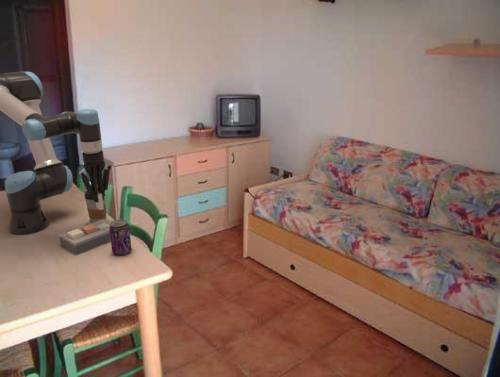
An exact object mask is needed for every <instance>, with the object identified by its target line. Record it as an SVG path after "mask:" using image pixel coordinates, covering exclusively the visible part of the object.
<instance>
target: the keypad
mask: <svg viewBox="0 0 500 377" xmlns="http://www.w3.org/2000/svg"><path fill="white" fill-rule="evenodd" d="M103 223H107V224H109V225H110V223H111V221H110V222H109V221H108V220H107V219H106V220H100V221H97V222H94V223H91V222H90V223H89V224H87V225H90V224H93V225H94V226H97V225H100V224H103ZM87 225H83V226H80V227H78V228H75V229H79V230H81V227H84V226H87ZM75 229H72V230H75ZM97 229H98V228H97ZM72 230H69V231H65V232H63V233H61V234H58V237H59V242H60V246H61V247H63V248H64V249H66V250H67V251H69V252H71V253H72V254H74V255H75V256H77V255H80V254H82V253H85V252H88V251H90V250H93V249H95V248H97V247H101V246H102V245H105V244H108V243H111V239H110V232H109V227H108V228H105V229H102V230H100V229H98V231H97V232H94V233H91V234H88V235H86V234H84V236H83V237H80V238H78V239H75V240H72V239H70V238H68V236H67V232H70V231H72ZM81 231H82V230H81Z"/></svg>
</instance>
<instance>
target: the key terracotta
mask: <svg viewBox="0 0 500 377" xmlns="http://www.w3.org/2000/svg"><path fill="white" fill-rule="evenodd" d="M89 224H90V225H89ZM89 224H87V226H86V225H83V226H84V227H83V226H80V227H81V230H82V231H83V232H84V234H86V235H88V234H91V233H94V232H97V231H98V229H97V227H96V226H94V225H93V224H91V223H89Z"/></svg>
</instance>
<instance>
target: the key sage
mask: <svg viewBox="0 0 500 377" xmlns="http://www.w3.org/2000/svg"><path fill="white" fill-rule="evenodd" d="M96 227H97V228H98V229H100V230H102V229H105V228H108V227H110V225H109V224H107V223H103V224H100V225H97V226H96Z"/></svg>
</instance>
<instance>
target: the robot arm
mask: <svg viewBox="0 0 500 377" xmlns="http://www.w3.org/2000/svg"><path fill="white" fill-rule="evenodd" d="M43 96H44V87H43V84H42V82H41V80H40V78H39V76H37V74H35V73H33V72H32V71H14V72H4V73H3V72H2V73H0V111H1V112H2V113H4V115H6V116H7V117H9V118H10V119H12V121H14V122H15V123H17V125H20V126H21V129H22V134H23V136H25V138H26V140H27V141H28V145H29V147H30V151H31V154H32V157H33V159H34V162H35V166H34V168H33V171H32V170H24V171H18V172H16V173H13V174H11V175H9V176H7V177H6V179H5V180H4V188H5V190H4V191H5V193H6V198H7V202H8V207H9V211H10V215H9V216H10V217H9V220H8V221H9V222H8V229H9V232H10V233H11V234H13V235H28V234H29V235H30V234H34V233H38V232H40V231H43V230H45V229H46V228H47V227H49V224H50V222H49V219H48V217H47V215H46V214H45V212H44V210H43V208H42V204H41V200H45V199H48V198H52V197H54V196H55V197H56V196H58V195H63V194H64V193H67V192H69V191H71V189H72V187H73V183H74V182H73V181H74V180H73V179H74V178H73V173H72V171H71V169H70V168H69V166H67V165H64V164H63V162H62V161H61V160H59V159H58V158H57V155H56V152H55V150H54V146H53V144H52V140H51V138H55V137H60V136H64V135H69V134H78V135H79V141H80V148H81V151H82V152H81V155H82V161H83V167H82V169H81V170H80V171H78V172H77V174H78V175H79V177H80V178H81V180H82V182H83V184H84V188H85V190H86V191H87V192H88V193H89V194H91V195H92V194H93V199H94V202H96V206H97V209H99V210H103V209H104V207H103V200H104V193H105V194H106V191H108V189H109V181H110V171H111V169H112V166H111V165H109V164H106V161H105V160H104V159H105V156H104V151H103V142H102V133H101V124H100V118H99V112H98V110H96V109H94V108H84V109H79V110H77V111H76V112H75V111H63V112H61V113H60V114H56V115H50V116H43V113H42V111H41V108H40V104H41V102H42V97H43ZM87 174H88V176H87ZM88 177H89V178H88ZM97 188H98V189H97Z"/></svg>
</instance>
